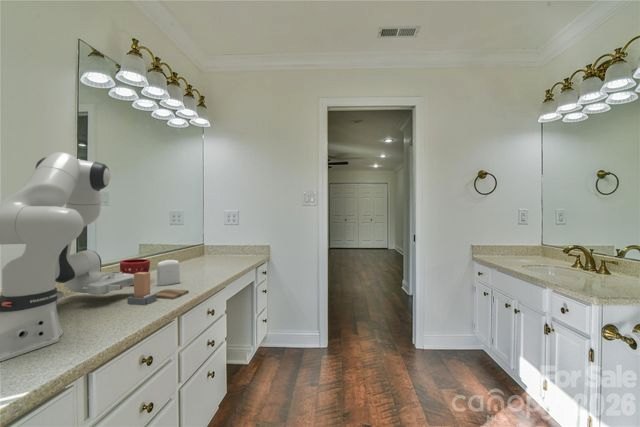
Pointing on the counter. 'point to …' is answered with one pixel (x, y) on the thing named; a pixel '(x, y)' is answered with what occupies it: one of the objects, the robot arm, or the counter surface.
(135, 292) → the tan rectangular prism
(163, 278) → the photo printer
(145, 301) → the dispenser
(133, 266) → the plant pot
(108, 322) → the counter surface
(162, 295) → the pad
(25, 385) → the counter surface
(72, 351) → the counter surface
